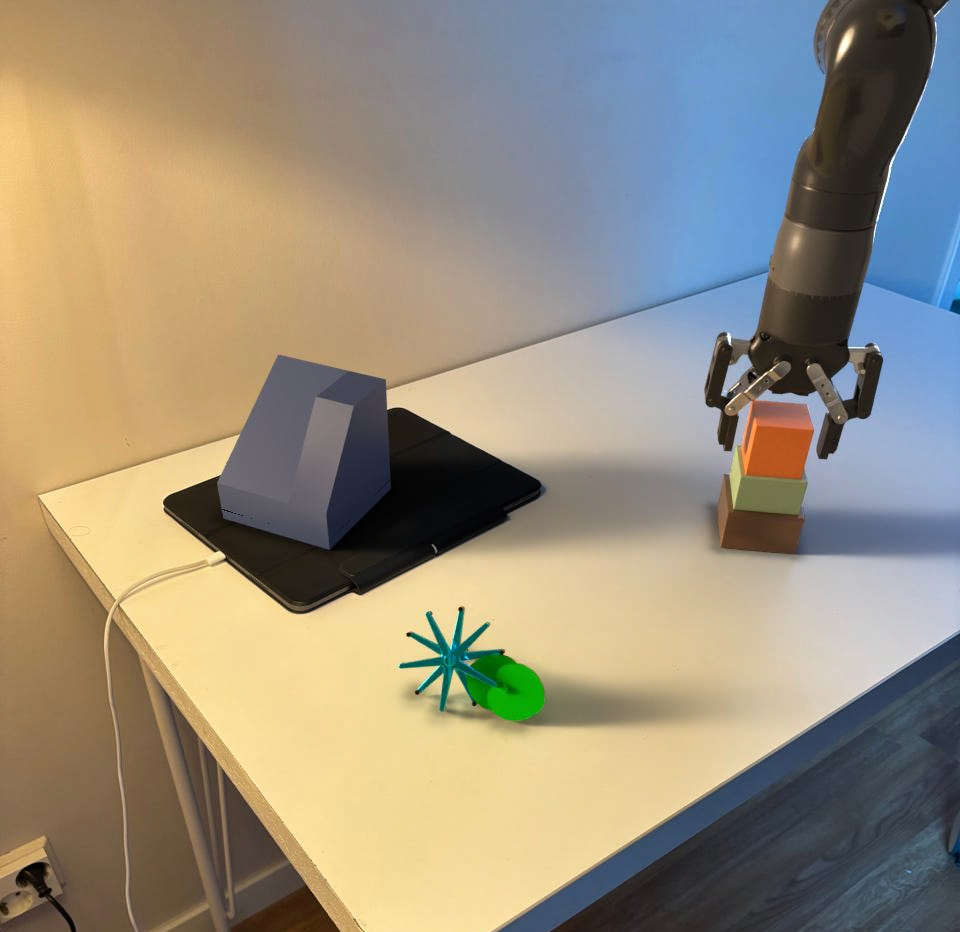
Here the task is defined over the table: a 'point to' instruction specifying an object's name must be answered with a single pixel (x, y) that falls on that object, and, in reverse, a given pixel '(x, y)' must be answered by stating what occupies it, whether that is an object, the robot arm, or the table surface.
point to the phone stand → (309, 453)
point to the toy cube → (777, 439)
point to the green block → (765, 490)
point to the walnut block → (756, 526)
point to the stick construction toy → (481, 673)
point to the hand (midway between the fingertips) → (774, 451)
